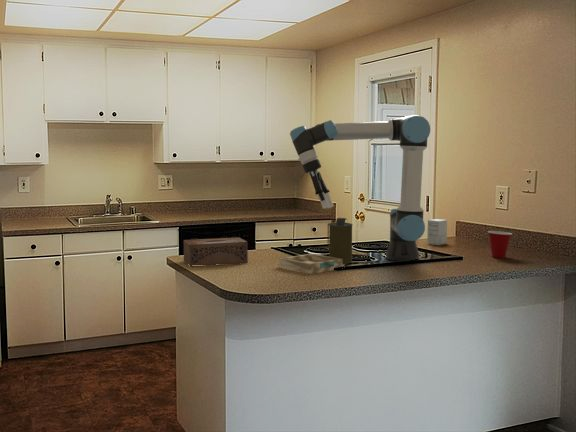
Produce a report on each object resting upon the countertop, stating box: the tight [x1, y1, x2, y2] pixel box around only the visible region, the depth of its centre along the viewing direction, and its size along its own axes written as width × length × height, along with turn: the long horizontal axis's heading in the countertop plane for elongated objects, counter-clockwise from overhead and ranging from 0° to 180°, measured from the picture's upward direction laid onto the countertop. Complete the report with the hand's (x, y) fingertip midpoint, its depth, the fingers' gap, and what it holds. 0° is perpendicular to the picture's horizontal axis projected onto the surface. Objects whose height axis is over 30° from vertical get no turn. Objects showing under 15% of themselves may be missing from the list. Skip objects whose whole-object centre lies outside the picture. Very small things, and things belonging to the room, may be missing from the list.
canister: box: [327, 217, 353, 264], centre depth 309 cm, size 11×10×20 cm
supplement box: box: [426, 218, 448, 246], centre depth 365 cm, size 7×7×13 cm
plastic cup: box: [487, 230, 513, 259], centre depth 324 cm, size 11×11×12 cm
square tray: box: [277, 253, 345, 275], centre depth 298 cm, size 20×20×4 cm
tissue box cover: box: [183, 237, 249, 266], centre depth 311 cm, size 26×14×10 cm, turn 108°
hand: (328, 207), depth 299 cm, fingers open, 13 cm apart
